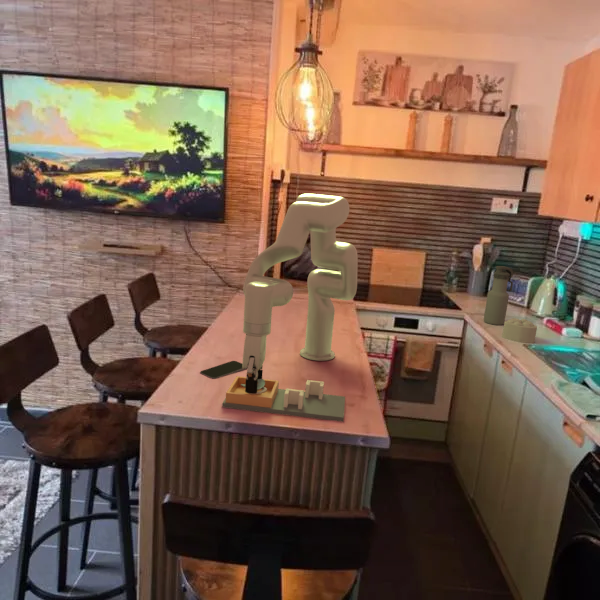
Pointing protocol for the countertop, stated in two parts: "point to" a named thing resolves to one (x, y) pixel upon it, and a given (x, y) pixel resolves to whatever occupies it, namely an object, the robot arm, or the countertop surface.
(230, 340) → the countertop surface
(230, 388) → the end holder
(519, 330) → the lumpy-topped squat cylinder
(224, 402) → the board
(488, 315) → the water bottle
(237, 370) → the smartphone
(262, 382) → the pacifier
